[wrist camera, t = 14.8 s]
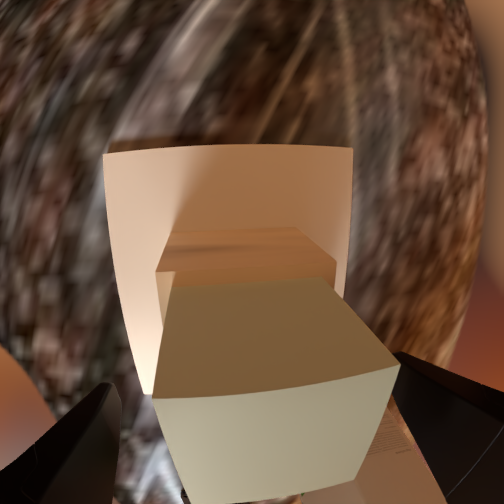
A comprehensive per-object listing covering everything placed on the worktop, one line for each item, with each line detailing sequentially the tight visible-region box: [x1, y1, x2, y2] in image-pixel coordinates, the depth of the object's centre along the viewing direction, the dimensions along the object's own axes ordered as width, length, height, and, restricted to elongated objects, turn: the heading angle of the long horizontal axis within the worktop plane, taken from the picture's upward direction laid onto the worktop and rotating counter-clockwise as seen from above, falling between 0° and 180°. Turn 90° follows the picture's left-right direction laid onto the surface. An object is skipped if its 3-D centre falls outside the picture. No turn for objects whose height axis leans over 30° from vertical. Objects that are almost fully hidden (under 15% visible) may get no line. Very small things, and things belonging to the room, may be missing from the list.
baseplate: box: [103, 144, 353, 394], centre depth 16 cm, size 14×12×1 cm
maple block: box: [155, 227, 337, 327], centre depth 13 cm, size 6×6×5 cm
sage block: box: [152, 276, 401, 504], centre depth 8 cm, size 5×5×5 cm
